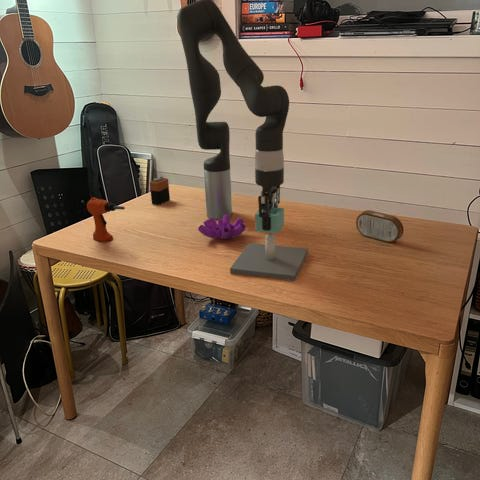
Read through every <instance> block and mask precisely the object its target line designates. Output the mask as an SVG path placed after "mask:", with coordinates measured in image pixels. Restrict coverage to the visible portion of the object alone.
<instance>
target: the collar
mask: <svg viewBox="0 0 480 480" xmlns="http://www.w3.org/2000/svg"><path fill="white" fill-rule="evenodd" d="M264 213H266V210H264ZM254 215H255V216H254V219H255V224H254V225H255V232H258V233H267V234H279V233H280V232H281V231H282V228H283V227H284V226H285V208H284V207H278V208H275V207H274V208H273V209H272V211H271V229H270V230H269V231H267V230H263V229H262V217H259V209H258V210H257V212H256V213H255V214H254Z"/></svg>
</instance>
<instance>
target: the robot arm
mask: <svg viewBox="0 0 480 480" xmlns="http://www.w3.org/2000/svg"><path fill="white" fill-rule="evenodd" d="M176 23H177V28H178V32H179V37H180V40H181V44H182V49H183V52H184V57H185V61H186V66H187V68H186V69H187V73H188V81H189V89H190V93H191V98H192V104H193V109H194V115H195V124H196V125H195V129H196V137H197V142H198V146H199V147H200V149H202V150H204V151H205V150H206V151H209V150H210V151H211V150H212V151H215V150H216V151H217V150H219V152H218V153H217V154H216V155H214V156H212V157H210V158H207V159H206V160H204V162H203V175H204V177H203V178H204V190H205V191H204V193H205V207H206V217H207V218H208V219H210V218H214V219H215V220H218V219H223V216H224V215H229V216H230V217H232V215H233V205H232V204H233V202H232V201H233V200H232V198H233V197H232V180H231V179H232V178H231V158H230V126H229V124H228V123H227V122H226V121H207V120H208V117H209V115H210V114H211V113H212V111H213V110H214V108H215V107H216V106H217V104H218V102H219V101H220V99H221V95H222V87H221V79H220V78H221V77H220V74H219V73H220V72H218V70H217V68H216V67H215V66H214V65H213V64H212V63H211V62H210V61H209V60H208V59H206V58H205V57H204V56H203V55H202V53H201V51H200V46H199V45H200V44H199V43H200V41H203V40H205V39H207V38H210V37H212V36H214V35H215V36H217V37H218V38H219V39H220V41H221V44H222V45H221V47H222V62H223V66H224V69H225V71H226V74H227V75H229V77H230V79H231V80H232V81H233V82H234V83H235V85H236V86H237V87H238V88H239V89H240V93H241V94H242V97H243V99H244V102H245V105H246V107H247V108H248V110H249V111H250V112H251V114H253V115H254V116H255V117H259V118H265V119H264V120H265V121H264V122H263V123H262V124H261V125H259V126H258V127H257V128H256V129H255V137H254V138H255V155H254V171H255V172H254V176H255V177H254V178H255V179H254V180H255V181H254V182H255V184H256V185H258V186H260V187H261V188H262V190H261V191H260V195H258V197H257V201H258V210H259V217H262V229H263V230H267V231H269V230H270V229H271V211H272V209H273V208H274V207H275V208H279V204H280V203H281V201H280V200H281V199H280V198H281V197H280V196H281V195H280V194H281V185H283V184H284V182H285V168H284V167H285V161H284V160H285V157H284V156H285V155H284V130H285V126H286V121H287V117H288V113H289V108H290V98H289V94H288V92H287V90H286V89H285V87H283V86H281V85H278V84H277V85H270V86H269V85H267V86H262V84H263V83H264V80H265V79H264V77H265V75H264V72H263V70H262V69H261V68H260V67H259V65H258V63H256V62H255V61H254V59H252V57H251V56H250V55H249V54H248V52H247V51H246V50H245V48H244V46H242V44H241V43H240V42H239V41H240V40H239V39H238V38H237V36H236V34H235V31H233V29H232V28H231V25H230V24H229V22H228V21H227V19H226V18H225V16H224V14H223V12H222V11H221V9H220V8H219V7H218V6H217V4H216V3H215V2H214V1H213V0H196V1H194V2H192V3H190V4H188V5H185V6H182V7H180V8H179V9H178V11H177V13H176ZM264 210H266V213H264Z"/></svg>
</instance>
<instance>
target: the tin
mask: <svg viewBox="0 0 480 480" xmlns="http://www.w3.org/2000/svg"><path fill="white" fill-rule="evenodd" d="M355 224H356V229H357V230H358V232H359V233H360V234H361V235H362V236H364V237H366V238H368V239H369V238H370V239H374V240H378V241H381V242H384V243H387V244H389V243H391V244H392V243H394V242H396V241H397V240H399V239H401V238H402V237H403V235H404V225H403V223H402V221H401V219H399V218H398V217H396V216H395V215H392V214H387V213H383V212H379V211H375V210H371V209H369V210H364V211H363V212H361V213H360V214H358V216H357V218H356V220H355Z"/></svg>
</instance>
